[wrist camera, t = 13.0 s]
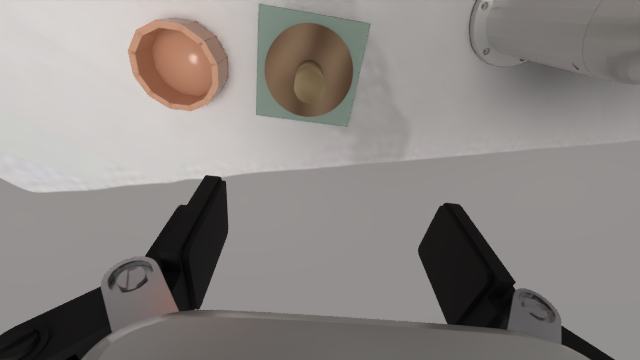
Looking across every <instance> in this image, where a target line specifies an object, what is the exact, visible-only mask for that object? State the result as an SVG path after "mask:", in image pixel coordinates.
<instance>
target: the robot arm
mask: <svg viewBox="0 0 640 360" xmlns="http://www.w3.org/2000/svg"><path fill="white" fill-rule="evenodd" d="M481 5H482V8H481ZM470 39H471V43H472V47H473V49H474V50H475V52H476V54H477V55H478V56H479V57H480V58H481V59H482V60H483V61H485V62H487V63H488V64H491V65H494V66H499V67H512V66H516V65H520V64H522V63H525V62H527V61H532V62H536V63H540V64H544V65H548V66H552V67H556V68H560V69H564V70H567V71H571V72H575V73H579V74H583V75H587V76H591V77H595V78H599V79H603V80H608V81H612V82H616V83H622V84H640V0H477V2H476V4H475V6H474V9H473V13H472V17H471V22H470ZM483 51H484V52H483ZM227 234H228V213H227V193H226V182H225V181H222V179H221V177H218V176H209V175H206V176H205V177H204V179H203V180H202V182H201V183H200V185H199V187H198V188H197V190H196V191H195V193H194V195H193V196H192V198H191V199H190V201H189V203H188V204H187V205H180V206H179V207H178V208H177V209H176V211H175V212H174V213H173V215H172V216H171V218H170V219H169V221H168V222H167V224H166V225H165V227H164V228H163V230H162V231H161V233H160V234H159V236H158V237H157V239H156V240H155V242H154V243H153V245H152V246H151V248H150V249H149V251H148V253H147V254H146V256H145V257H142V256H141V257H133V258H129V259H126V260H123V261H121V262H119V263H117V264H116V265H114V266H113V267H112V268H110V269H109V270H108V271H107V273H106V274H105V275H104V277H103V279H102V281H101V287H99V288H97V289H95V290H92V291H90V292H88V293H86V294H84V295H82V296H80V297H77V298H75V299H73V300H71V301H69V302H67V303H64V304H63V305H60V306H58V307H56V308H54V309H52V310H50V311H47V312H45V313H43V314H41V315H39V316H37V317H35V318H32V319H30V320H28V321H26V322H24V323H22V324H19V325H17V326H15V327H13V328H12V329H10V330H8V331H6V332H5V333H3V334H2V335H0V360H614V359H613V358H611V357H610V356H608V355H607V354H605V353H603V352H602V351H600V350H599V349H597V348H596V347H594V346H592V345H591V344H589V343H588V342H586V341H585V340H583V339H581V338H580V337H578V336H577V335H575V334H574V333H572V332H571V331H569V330H568V329H566V328H564V327H563V326H561V318H560V315H559V313H558V312H557V310H556V309H555V307H554V306H553V305H552V304H551V303H550V302H549V301H548V300H546V299H545V298H544V297H542V296H541V295H539V294H538V293H536V292H534V291H531V290H528V289H517V290H515V289H514V287H513V285H514V284H515V281H514V280H513V278H512V276H511V275H510V274H509V272H508V271H507V269H506V268H505V267H504V265H503V264H502V262H501V261H500V260H499V258H498V257H497V255H496V254H495V253H494V251H493V250H492V248H491V247H490V246H489V244H488V243H487V242H486V240H485V239H484V237H483V236H482V235H481V233H480V232H479V230H478V229H477V228H476V226H475V225H474V223H473V222H472V221H471V219H470V218H469V216H468V215H467V214H466V212H465V211H464V210H463V208H462V207H461V206H460V205H459V204H452V203H445V204H443V206H440V207H439V209H438V210H437V212H436V214H435V216H434V218H433V220H432V222H431V224H430V226H429V228H428V230H427V232H426V234H425V236H424V238H423V240H422V242H421V244H420V245H419V248H418V252H419V256H420V259H421V261H422V264H423V266H424V268H425V271H426V273H427V276H428V278H429V280H430V283H431V285H432V288H433V290H434V293H435V295H436V298H437V300H438V302H439V305H440V307H441V309H442V312H443V314H444V317H445V319H446V322H447V324H435V323H422V322H408V321H394V320H379V319H364V318H349V317H334V316H320V315H303V314H288V313H287V314H286V313H272V312H251V311H230V310H195V309H200V307H201V305H202V302H203V299H204V296H205V294H206V291H207V288H208V286H209V283H210V280H211V278H212V275H213V272H214V270H215V267H216V264H217V262H218V259H219V256H220V254H221V251H222V248H223V246H224V243H225V240H226V237H227Z"/></svg>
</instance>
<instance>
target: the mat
mask: <svg viewBox="0 0 640 360" xmlns="http://www.w3.org/2000/svg"><path fill="white" fill-rule="evenodd" d="M302 23H315V24H319V25H322V26H325V27H327V28H329V29H330V30H332V31H333V32H335V33H336V34H337V35H338V36H339V37H340V38H341V39H342V40H343V42H344V43H345V44H346V46H347V48H348V50H349V52H350V55H351V58H352V63H353V78H352V83H351V87H350V89H349V92H348V93H347V95H346V97H345V98H344V100H343V101H342V102H341V103H340V104H339V105H338V106H337V107H336V108H335V109H333V110H332V111H330V112H328V113H326V114H323V115H320V116H315V117H303V116H298V115H295V114H293V113H291V112H289V111H287V110H285V109H284V108H283V107H281V106H280V105H279V104H278V103H277V102H276V101H275V99H274V98H273V96H272V95H271V93H270V91H269V89H268V86H267V83H266V80H265V60H266V55H267V53H268V50H269V48H270V46H271V44H272V43H273V41H274V40H275V39H276V38H277V37H278V36H279V35H280V34H281V33H282V32H283V31H284V30H286V29H288V28H289V27H291V26H294V25H297V24H302ZM369 27H370V24H369V23H363V22H357V21H352V20H346V19H341V18H335V17H329V16H324V15H318V14H313V13H307V12H302V11H296V10H290V9H285V8H279V7H274V6H268V5H262V4H259V17H258V59H257V100H256V115H260V116H268V117H276V118H284V119H291V120H299V121H307V122H315V123H322V124H330V125H338V126H345V127H348V123H349V118H350V114H351V109H352V104H353V100H354V95H355V91H356V86H357V82H358V77H359V73H360V68H361V64H362V59H363V55H364V50H365V46H366V41H367V37H368V32H369Z"/></svg>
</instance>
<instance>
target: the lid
mask: <svg viewBox="0 0 640 360" xmlns="http://www.w3.org/2000/svg"><path fill="white" fill-rule="evenodd" d="M352 78H353V63H352V58H351V55H350V52H349V50H348V48H347V46H346V44H345V43H344V42H343V40H342V39H341V38H340V37H339V36H338V35H337V34H336V33H335V32H333V31H332V30H330V29H329V28H327V27H325V26H322V25H319V24H315V23H302V24H297V25H294V26H291V27H289V28H288V29H286V30H284V31H283V32H282V33H281V34H280V35H279V36H278V37H277V38H276V39H275V40H274V41H273V43H272V44H271V46H270V48H269V50H268V53H267V55H266V60H265V80H266V83H267V86H268V89H269V91H270V93H271V95H272V96H273V98H274V99H275V101H276V102H277V103H278V104H279V105H280V106H281V107H283V108H284V109H285V110H287V111H289V112H291V113H293V114H295V115H298V116H303V117H315V116H320V115H323V114H326V113H328V112H330V111H332V110H333V109H335V108H336V107H337V106H338V105H339V104H340V103H341V102H342V101H343V100H344V98H345V97H346V95H347V93H348V92H349V89H350V87H351V83H352Z"/></svg>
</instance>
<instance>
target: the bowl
mask: <svg viewBox="0 0 640 360" xmlns="http://www.w3.org/2000/svg"><path fill="white" fill-rule="evenodd" d="M128 53H129V58H130V63H131V67H132V72H133V75H134V77H135V78H136V79H137V81H138V82H139V83H140V85H141V86H142V87H143V89H144V90H145V91H146V93H147V94H148V95H149V96H150V97H152V98H153V99H155V100H157V101H158V102H160V103H162V104H163V105H165V106H167V107H168V108H171V109H178V110H186V111H193V110H195V109H197V108H199V107H202V106H204V105H206V104H209V103H210V102H211V101H212V100H213V99H214V98H215V96H216V95H217V94H218V93H219V92H220V91H221V89H222V87H223V85H224V84H225V82H226V80H227V79H228V57H227V55H226V53H225V52H224V50H223V48H222V46H221V44H220V42H219V40H218V39H217V37H216V36H215V35H214V34H212V33H211V32H210V31H209V30H207V29H206V28H205V27H203V26H202V25H201V24H199V23H198V22H196V21H190V20H184V19H178V18H170V19H160V20H155V21H153V22H151V23H149V24H147V25H145V26H143V27H141V28H139V29H137V30H136V31H135V34H134V37H133V39H132V42H131V44H130V47H129V49H128Z"/></svg>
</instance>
